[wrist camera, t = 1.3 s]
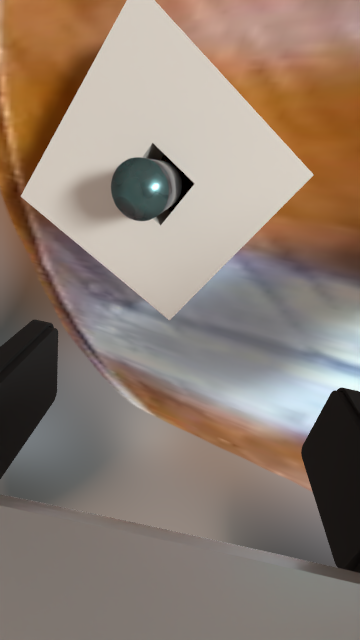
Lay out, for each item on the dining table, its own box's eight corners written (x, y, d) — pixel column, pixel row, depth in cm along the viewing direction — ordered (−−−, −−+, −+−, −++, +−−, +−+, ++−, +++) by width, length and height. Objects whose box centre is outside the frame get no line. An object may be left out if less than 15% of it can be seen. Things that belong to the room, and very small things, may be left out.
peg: (156, 149, 26) (133, 142, 20) (191, 183, 27) (180, 187, 20) (129, 187, 28) (100, 193, 21) (163, 218, 29) (144, 233, 22)
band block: (159, 29, 28) (137, -19, 21) (293, 173, 31) (313, 174, 24) (61, 191, 35) (20, 196, 28) (179, 292, 39) (169, 320, 32)
